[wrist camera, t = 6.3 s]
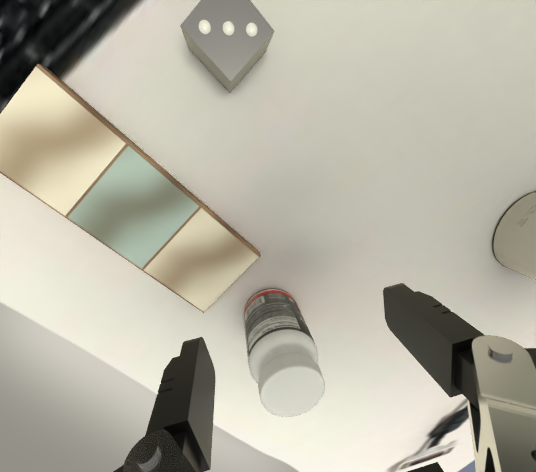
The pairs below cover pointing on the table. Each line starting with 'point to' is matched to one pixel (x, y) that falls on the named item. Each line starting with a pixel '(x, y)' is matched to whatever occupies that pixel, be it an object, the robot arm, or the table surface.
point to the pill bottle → (282, 354)
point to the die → (227, 37)
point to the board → (117, 191)
